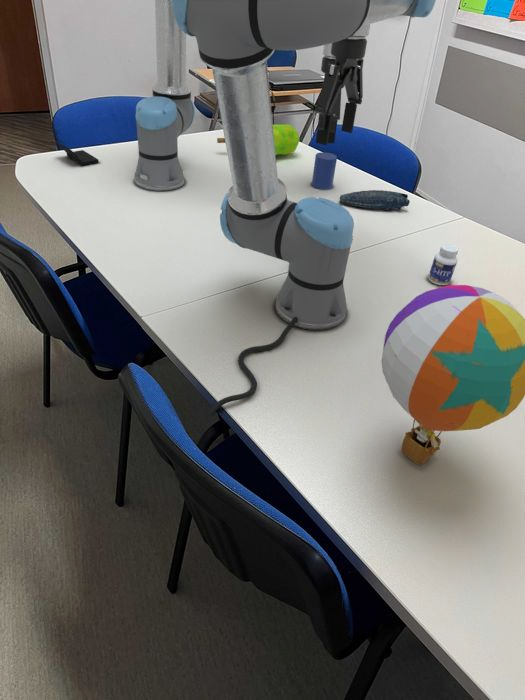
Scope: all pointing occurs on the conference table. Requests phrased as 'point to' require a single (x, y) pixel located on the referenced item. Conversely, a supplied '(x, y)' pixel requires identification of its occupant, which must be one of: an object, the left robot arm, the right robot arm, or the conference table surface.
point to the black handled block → (79, 155)
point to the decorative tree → (281, 139)
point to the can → (324, 170)
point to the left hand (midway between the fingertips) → (325, 136)
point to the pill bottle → (443, 265)
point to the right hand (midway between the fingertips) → (334, 137)
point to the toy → (454, 363)
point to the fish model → (376, 199)
